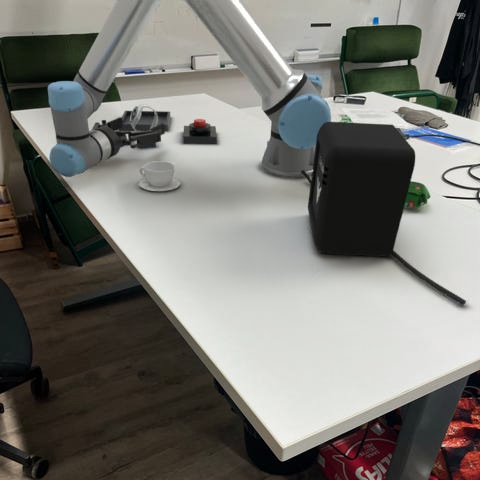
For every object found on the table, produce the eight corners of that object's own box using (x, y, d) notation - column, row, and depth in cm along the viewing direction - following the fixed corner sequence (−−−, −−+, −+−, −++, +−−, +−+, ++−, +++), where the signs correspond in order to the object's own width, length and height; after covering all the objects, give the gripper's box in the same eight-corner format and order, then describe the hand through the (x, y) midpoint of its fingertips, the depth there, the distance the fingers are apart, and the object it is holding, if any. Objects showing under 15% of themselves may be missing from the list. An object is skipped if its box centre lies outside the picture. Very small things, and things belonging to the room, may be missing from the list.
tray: (168, 131, 154) (167, 124, 153) (118, 130, 153) (118, 124, 151) (170, 117, 168) (170, 111, 167) (125, 116, 167) (124, 110, 166)
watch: (130, 143, 142) (126, 104, 135) (156, 141, 145) (153, 102, 138) (134, 149, 138) (131, 108, 131) (161, 146, 141) (159, 106, 134)
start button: (205, 128, 145) (205, 122, 144) (194, 127, 145) (193, 121, 144) (205, 124, 148) (205, 119, 147) (194, 124, 148) (193, 118, 147)
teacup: (186, 181, 119) (185, 162, 116) (171, 195, 111) (170, 175, 108) (149, 175, 121) (147, 157, 118) (131, 189, 113) (129, 170, 110)
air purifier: (305, 213, 106) (317, 118, 94) (371, 216, 106) (391, 121, 94) (312, 257, 90) (328, 149, 78) (390, 261, 89) (418, 153, 78)
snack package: (362, 191, 117) (366, 171, 114) (428, 203, 113) (434, 181, 110) (356, 202, 112) (360, 180, 109) (425, 214, 108) (432, 192, 105)
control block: (216, 144, 144) (216, 130, 142) (183, 143, 144) (183, 130, 141) (215, 133, 154) (215, 120, 152) (184, 132, 153) (183, 119, 151)
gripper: (61, 153, 126) (106, 133, 142) (144, 167, 120) (181, 144, 136) (55, 123, 122) (102, 106, 138) (141, 136, 115) (180, 116, 131)
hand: (142, 125), depth 137 cm, fingers open, 13 cm apart
